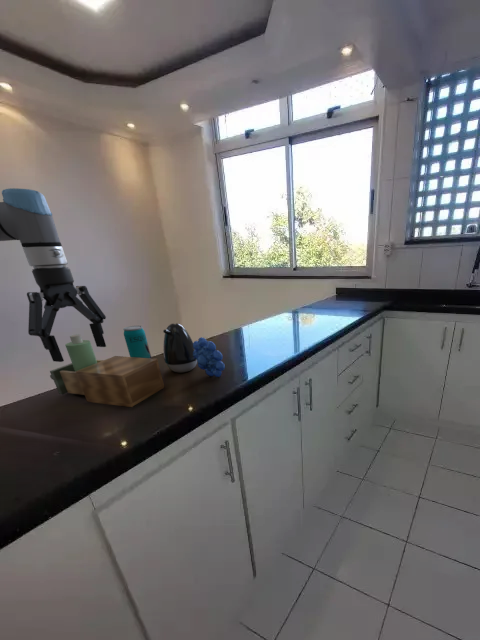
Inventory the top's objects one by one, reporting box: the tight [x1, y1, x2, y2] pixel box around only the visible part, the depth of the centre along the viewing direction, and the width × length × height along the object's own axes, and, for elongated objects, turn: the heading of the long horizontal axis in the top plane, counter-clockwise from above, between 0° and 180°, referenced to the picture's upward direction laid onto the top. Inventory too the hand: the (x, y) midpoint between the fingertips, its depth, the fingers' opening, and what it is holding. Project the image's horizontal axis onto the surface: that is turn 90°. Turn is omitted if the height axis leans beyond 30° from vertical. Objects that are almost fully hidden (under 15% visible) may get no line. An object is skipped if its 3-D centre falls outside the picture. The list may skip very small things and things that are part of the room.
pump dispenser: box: [162, 322, 198, 374], centre depth 98 cm, size 10×10×15 cm
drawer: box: [49, 359, 103, 396], centre depth 87 cm, size 18×11×7 cm, turn 73°
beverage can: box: [123, 325, 153, 359], centre depth 96 cm, size 6×6×15 cm
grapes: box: [193, 337, 226, 378], centre depth 92 cm, size 12×7×12 cm, turn 61°
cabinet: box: [76, 355, 165, 408], centre depth 83 cm, size 15×13×9 cm
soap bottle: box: [64, 333, 98, 372], centre depth 84 cm, size 6×6×14 cm
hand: (81, 353), depth 84 cm, fingers open, 12 cm apart
